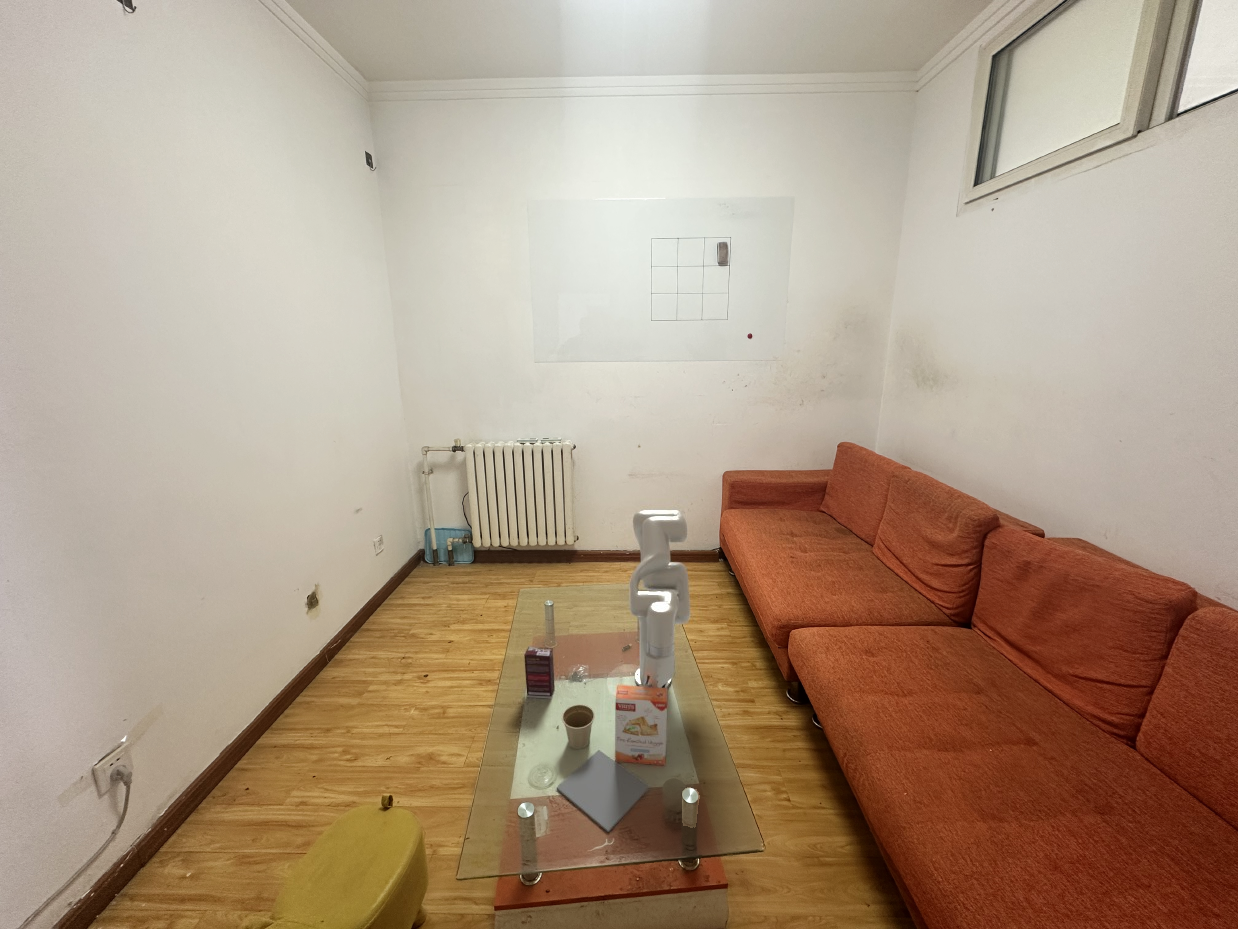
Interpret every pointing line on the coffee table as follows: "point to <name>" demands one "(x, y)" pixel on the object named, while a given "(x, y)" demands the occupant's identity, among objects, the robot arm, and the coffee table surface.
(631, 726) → the cracker box
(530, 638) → the coffee table surface
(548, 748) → the coffee table surface
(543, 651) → the supplement box
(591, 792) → the mat
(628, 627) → the coffee table surface
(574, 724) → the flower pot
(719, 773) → the coffee table surface
